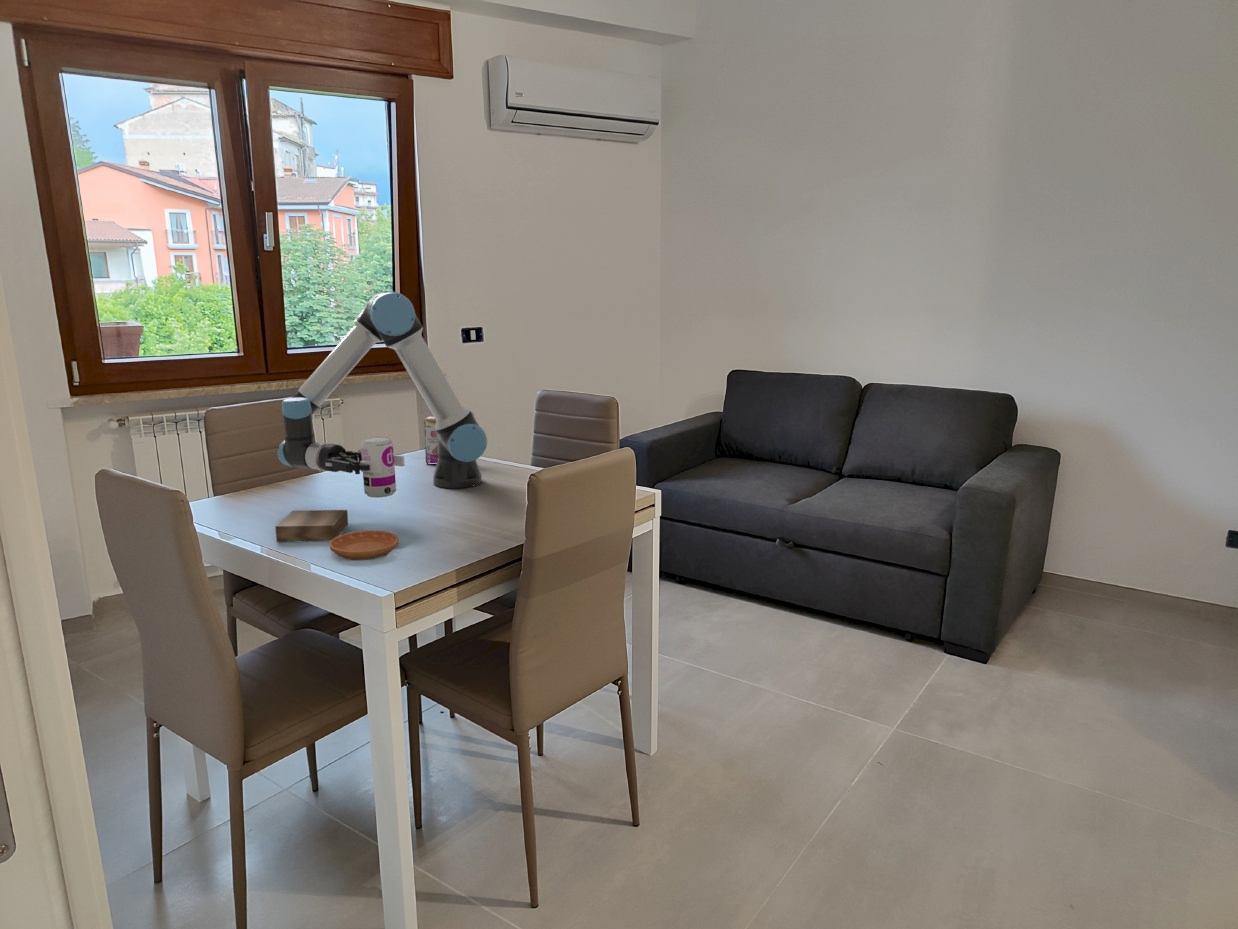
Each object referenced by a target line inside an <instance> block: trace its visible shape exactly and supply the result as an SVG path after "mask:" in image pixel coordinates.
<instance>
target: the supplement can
mask: <svg viewBox="0 0 1238 929" xmlns="http://www.w3.org/2000/svg"><path fill="white" fill-rule="evenodd" d="M360 450H361V455H362V461H368V462H377V463H382V473H381V474H379V473H370V472H362V478H363V491H364V494H365V495H366V496H367V497H369V498H387V497H391V496H393V495H394V494H395V492H396V491H397V484H396V483H397V482H396V470H395V465H394V455H395V454H394V444H393V442H392V439H391V438H390V437H387V436H374V437H373V436H372V437H367V438H363V439H362V441H361V445H360Z"/></svg>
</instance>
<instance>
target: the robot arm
mask: <svg viewBox="0 0 1238 929" xmlns="http://www.w3.org/2000/svg"><path fill="white" fill-rule="evenodd" d="M364 306H365V307H363V309H362V311H361V312H360V313H359V314H358V315H357V317H356V318H355V319H354V326H353V327H352V328H351V329H350V330H349V331H348V332H347V334H346V335H345V336H344V337H343V338H342V340H340V342H339V343H338V344H337V345H336V346H335V347H334V348H333V350H332V351H331V352H330V353H329V355H327V356H326V358H325V359H324V360H323V361H322V363H321V364H320V365H318V367H317V368H316V369H315V370H314V371H313V373H312V374H311V375H309V376H308V378H307V379H306V381H305V382H304V383H303V384H302V385H301V386H300V387H299V388H298V390H297V391H296V392H295V393H294V394H293V395H292V397H289V398H288V397H287V398H286V399H283V400H282V402H281V414H282V422H283V423H282V424H283V431H284V440H283V441H282V442H281V443H280V444H279V446H278V450H277V457H278V459H279V460H278V461H280V462H281V464H282V465H285V466H289V467H292V468H295V469H296V468H298V469H299V468H301V469H307V470H308V469H310V470H318V472H319V473H320V472H321V473H322V472H323V471H326V472H331V473H333V472H334V473H339V472H343V473H349V474H352V473H354V472H355V473H354V474H355V475H360V474H361V472H362V473H363V472H370V473H379V474H381V473H382V463H377V462H368V461H362V455H361V449H359V450H358V451H352V450H346V449H345V448H344V446H342V445H341V444H340V445H339V444H337V443H336V444H335V443H334V444H333V443H326V442H316V441H315V440H314V439H315V436H314V428H313V415H314V414H315V413H316V412H317V410H318V409H319V408H320V406H321V405H322V404H323V403H324V402H325V401H326V400H327V399H328V397H329V396H330V395H331V394H332V393H333V392H334V391H335V390H336V389H337V387H338V386H339V385H340V384H341V383H342V382H343V380H344V379H345V378H346V377H347V376H348V375H349V374H350V373H351V371H352V370H353V369H354V368H356V366H357V365H358V364H359V362H360V361H361V360H362V359H364V356H365V355H366V354H367V353H368V352H369V351H370V350H371V349H372V348H373V346H374V345H375V344H377V343H382V342H383V343H384V345H385V347H386V348H389V349H391V350H394V351H395V353H396V354H397V356H398V358H399V360H400V362H402V365H403V367H404V369H405V370H406V372H407V373H408V375H409V377H410V379H411V380H412V381H413V383H414V385H415V387H416V389H417V390H418V392H419V393H420V395H421V397H422V398H423V400H424V402H425V404H426V406H427V407H428V409H429V411H430V412H431V414H432V417H435V419H436V425H435V429H436V431H437V443H438V462H437V465H435V470H434V472H433V473H434V474H433V477H432V478H433V480H432V482H433V485H434V486H436V487H439V488H445V489H464V488H470V487H469V486H472V487H474V486H473V485H476V486H478V485H480V484H481V483H482V482H481V481H482V480H483V478H482V473H481V470H480V468H479V465H478V464H479V463H478V462H477V460H478V459H480V458H481V457H482V456H483V455H484V453H485V451H486V449H487V447H488V436H487V434H486V432H485V430H484V429H483V428H482V427H481V426H480V425H479V423H478V421H477V420H476V418H475V414H474V411H471V409H470V408H467V407H464V406H462V404H461V402H460V400H459V399H458V397H457V395H456V394H455V392H454V390H453V388H452V387H451V384H450V383H449V381H448V379H447V377H446V376H445V375H444V372H443V371H442V369H441V367H440V366H439V364H438V362H437V360H436V359H435V357H434V355H433V354H432V351H431V350H430V348H429V346H428V345H427V342H426V341H425V339H424V338H423V336H422V333H423V330H424V327H423V325H422V324H421V322H420V320H419V318H418V316H417V313H416V310H415V308H414V307H415V306H414V305H413V303H412V302H411V300H410V299H409V298H408V297H407V296H405V295H404V294H402V293H399V292H396V291H391V290H390V291H389V290H383V291H380V292H376V294H374V295H373V296H372V297H371V298H370V299H369V300H368V301H367V303H366V305H364ZM405 463H406V462H405V456H404V455H398V454H397V455H396V454H394V465H395V466H397V467H405ZM480 482H481V483H480ZM479 483H480V484H479ZM477 484H478V485H477Z"/></svg>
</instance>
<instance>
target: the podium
mask: <svg viewBox="0 0 1238 929" xmlns="http://www.w3.org/2000/svg"><path fill="white" fill-rule="evenodd" d="M348 517H349V515H348V509H325V510H324V509H321V510H320V509H319V510H317V509H316V510H315V509H314V510H313V509H312V510H309V509H308V510H291V512H290V513H289V514H287V515H286V516H285V517H284V518H283V519H282V520H281V521H279V523H277V524H276V525H275V527H274V528H275V538H276V542H277V543H287V541H290V542H289V543H291V542H292V543H295V542H296V541H302V542H330V541H331V540H332V539H333V538H335V537H337V536H340V535H342V533H343V532H344V531H345V529H347V526H348V525H349V520H348V519H349V518H348ZM296 543H297V542H296Z"/></svg>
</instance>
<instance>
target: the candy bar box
mask: <svg viewBox="0 0 1238 929" xmlns="http://www.w3.org/2000/svg"><path fill="white" fill-rule="evenodd" d="M423 424H424V443H425V444H424V446H425V447H424V450H425V464H426V463H437V462H438V443H437V431H436V429H435V425H436V419H435V417H434V416H426V417H425V418H424V423H423Z"/></svg>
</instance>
